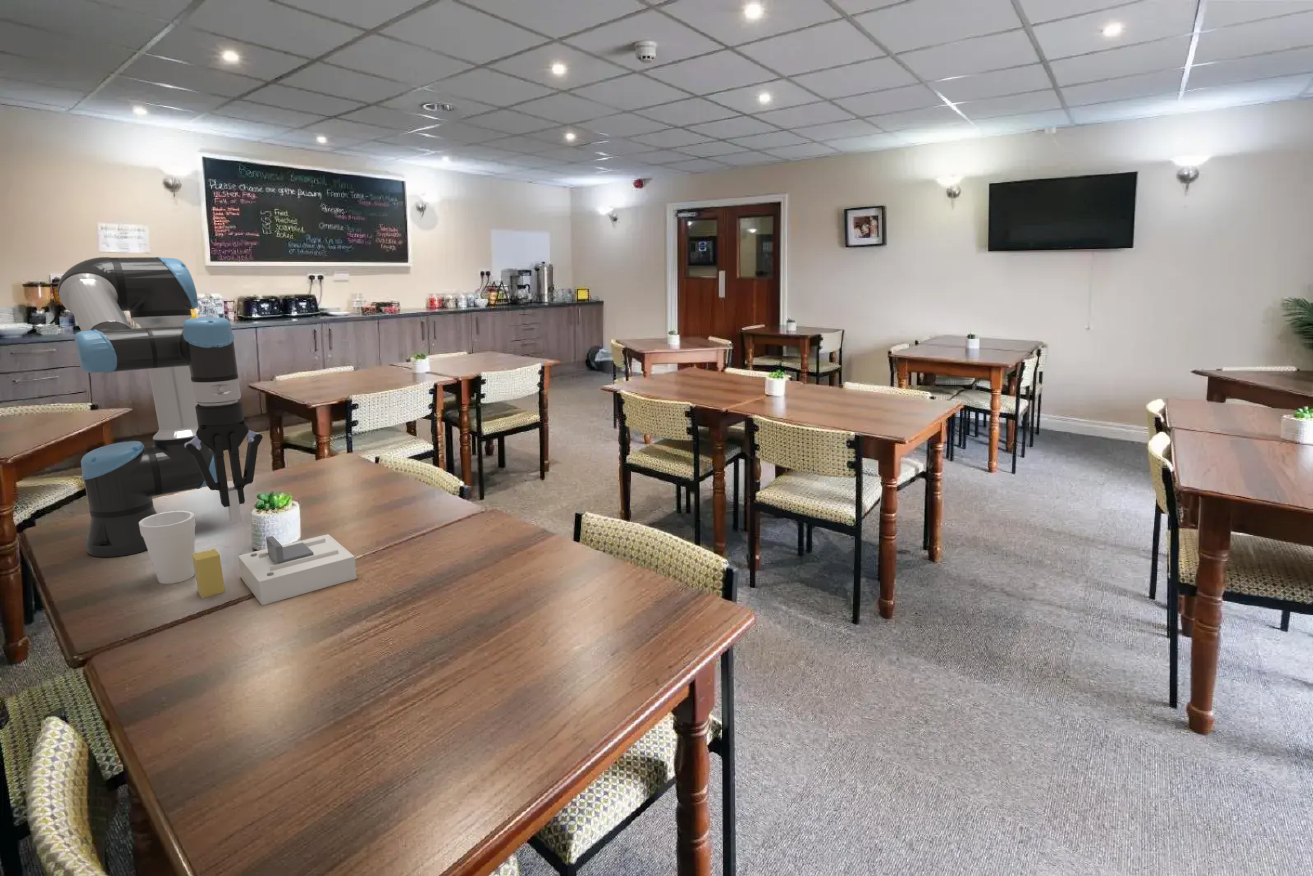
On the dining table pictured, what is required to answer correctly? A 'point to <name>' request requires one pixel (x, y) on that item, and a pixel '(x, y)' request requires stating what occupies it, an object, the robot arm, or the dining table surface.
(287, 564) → the socket
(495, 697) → the dining table surface
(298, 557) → the shutter
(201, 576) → the plug
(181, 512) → the foam cup
